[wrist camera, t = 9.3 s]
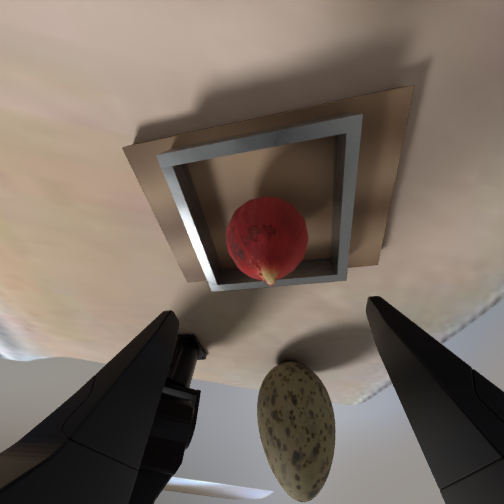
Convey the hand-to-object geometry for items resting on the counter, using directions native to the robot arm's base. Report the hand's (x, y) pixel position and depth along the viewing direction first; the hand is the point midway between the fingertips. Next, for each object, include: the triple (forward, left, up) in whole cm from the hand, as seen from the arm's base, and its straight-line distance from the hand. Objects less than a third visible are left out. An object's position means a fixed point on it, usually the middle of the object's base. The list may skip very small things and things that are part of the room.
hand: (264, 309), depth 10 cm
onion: (0, 0, -10) cm, 11 cm away
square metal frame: (0, 0, -10) cm, 10 cm away
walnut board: (0, 0, -12) cm, 12 cm away
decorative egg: (-29, 0, -12) cm, 32 cm away
